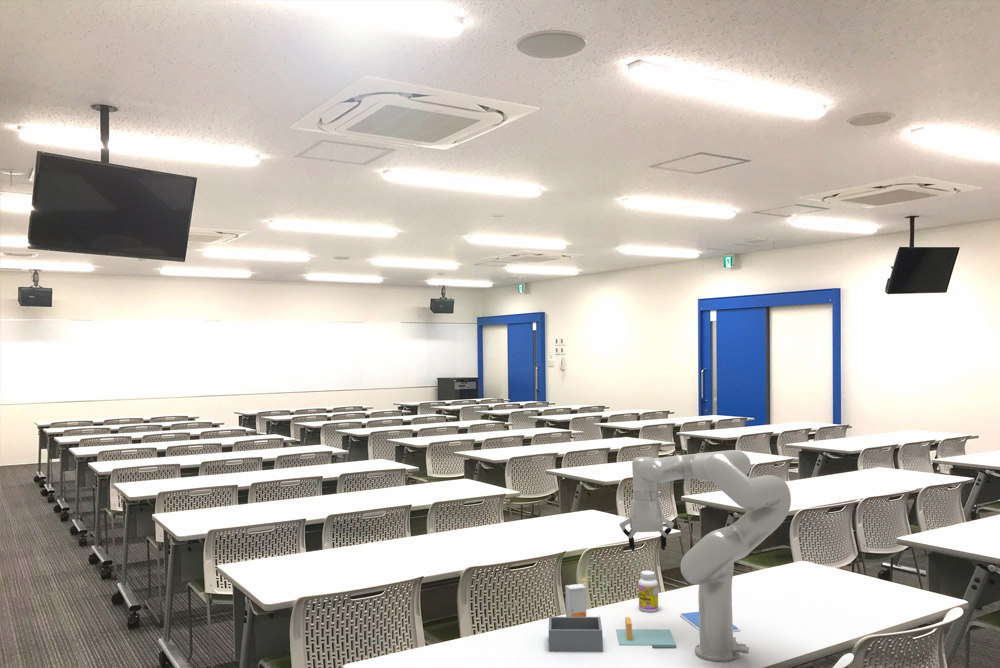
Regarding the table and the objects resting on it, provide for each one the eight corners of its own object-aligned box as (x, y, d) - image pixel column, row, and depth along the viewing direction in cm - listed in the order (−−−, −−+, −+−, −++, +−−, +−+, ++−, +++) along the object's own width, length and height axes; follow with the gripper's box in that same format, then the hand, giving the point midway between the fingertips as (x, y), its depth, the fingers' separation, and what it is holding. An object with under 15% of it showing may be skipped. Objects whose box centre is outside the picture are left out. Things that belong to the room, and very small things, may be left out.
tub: (600, 639, 238) (600, 616, 238) (603, 654, 226) (602, 630, 226) (549, 639, 239) (549, 616, 239) (549, 654, 227) (548, 630, 227)
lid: (669, 633, 242) (669, 613, 242) (676, 649, 229) (675, 628, 229) (616, 633, 243) (615, 613, 244) (619, 649, 230) (618, 627, 231)
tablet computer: (741, 633, 242) (741, 629, 242) (705, 637, 239) (704, 633, 239) (712, 613, 261) (712, 609, 261) (678, 617, 258) (678, 613, 258)
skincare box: (570, 625, 251) (569, 588, 251) (565, 621, 255) (564, 585, 256) (587, 623, 253) (586, 586, 253) (582, 619, 257) (581, 583, 257)
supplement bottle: (635, 609, 265) (634, 572, 265) (646, 605, 269) (645, 568, 270) (651, 614, 260) (650, 576, 260) (662, 609, 265) (661, 572, 265)
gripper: (670, 492, 248) (672, 545, 247) (616, 494, 248) (619, 547, 248) (674, 496, 240) (677, 551, 240) (620, 498, 241) (622, 553, 240)
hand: (647, 549), depth 244 cm, fingers open, 9 cm apart
